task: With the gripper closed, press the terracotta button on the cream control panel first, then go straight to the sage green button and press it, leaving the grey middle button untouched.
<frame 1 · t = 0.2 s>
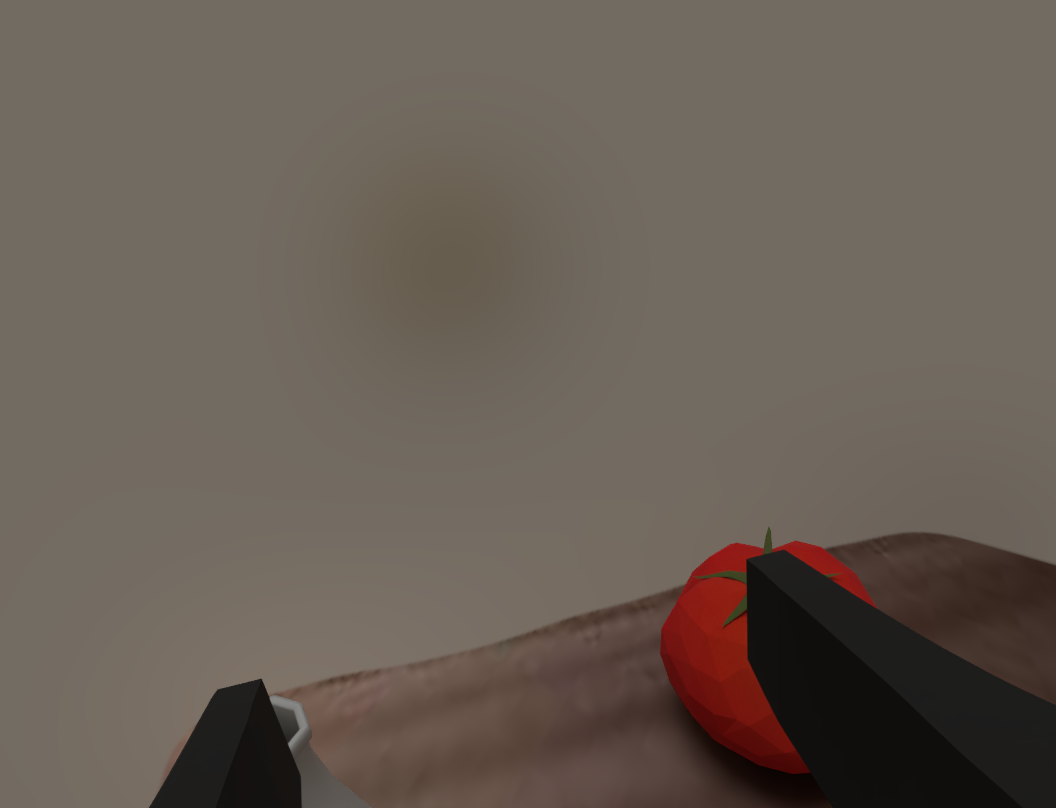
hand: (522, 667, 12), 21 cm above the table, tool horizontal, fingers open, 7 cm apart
tomato: (781, 722, 35), on the table
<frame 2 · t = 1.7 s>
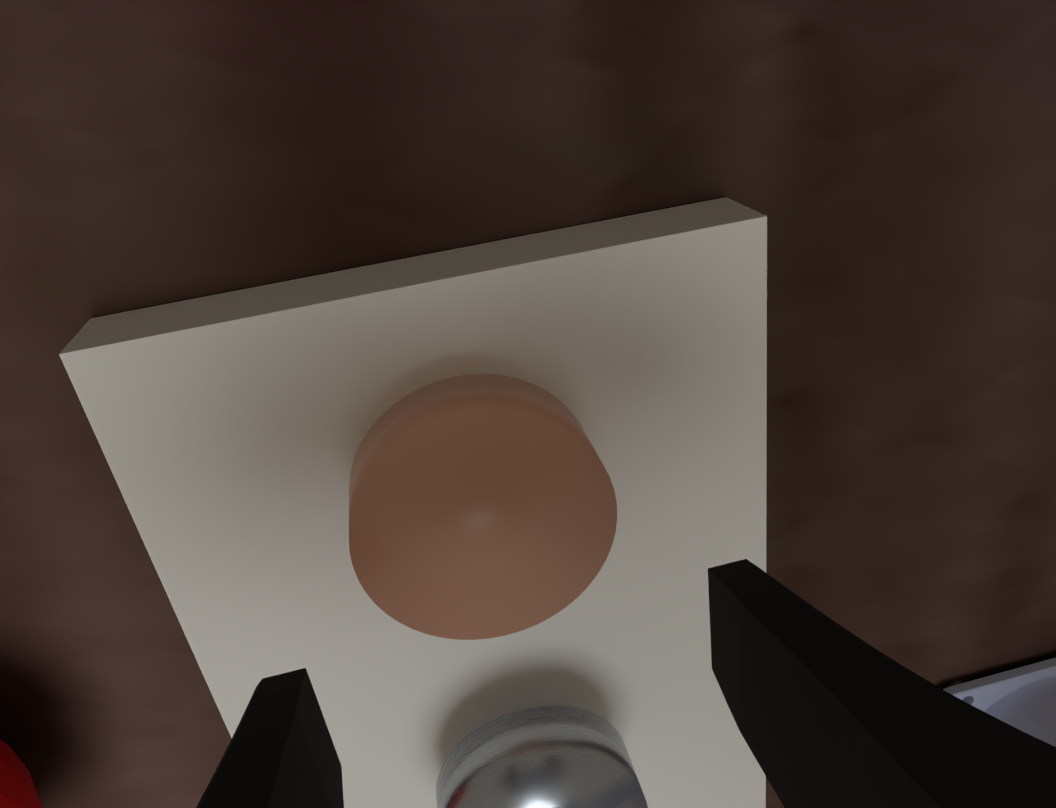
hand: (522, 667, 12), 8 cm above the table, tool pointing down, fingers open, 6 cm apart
terracotta button: (480, 509, 15), point 4 cm above the table, slide at 0.0 cm
grey button: (540, 807, 19), point 4 cm above the table, slide at 0.0 cm
control panel: (510, 683, 23), on the table
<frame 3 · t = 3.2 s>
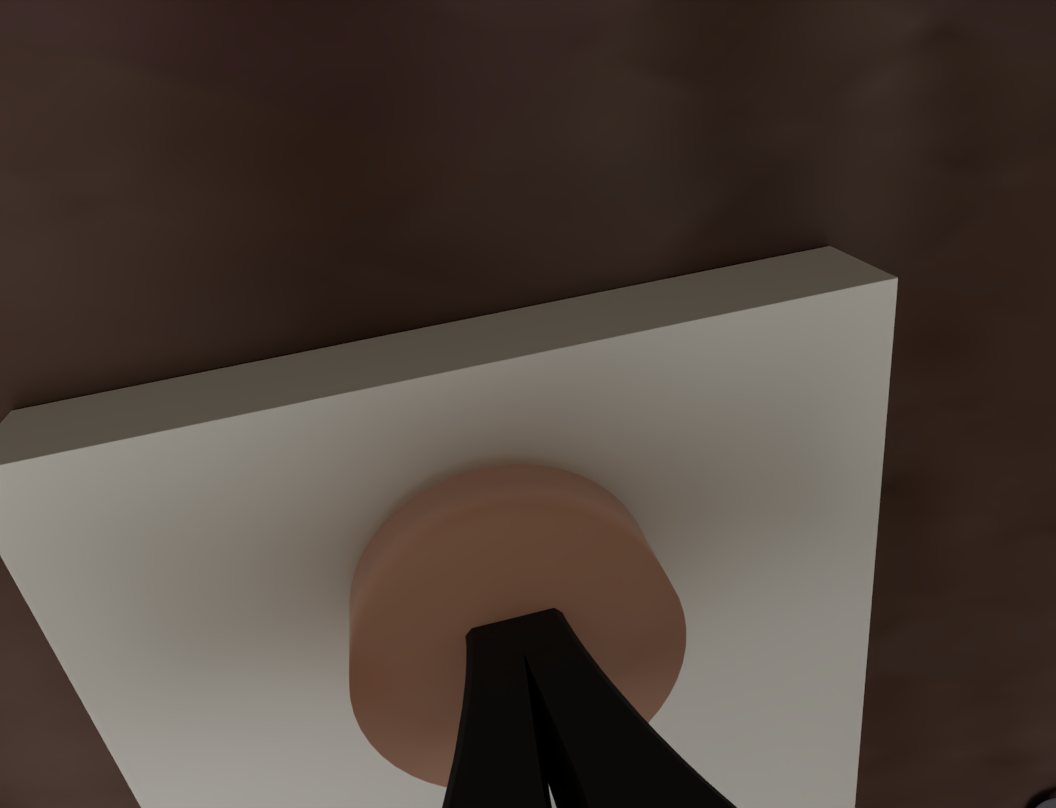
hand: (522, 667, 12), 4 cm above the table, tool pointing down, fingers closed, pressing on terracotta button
terracotta button: (513, 631, 12), point 3 cm above the table, slide at 0.9 cm, touching gripper
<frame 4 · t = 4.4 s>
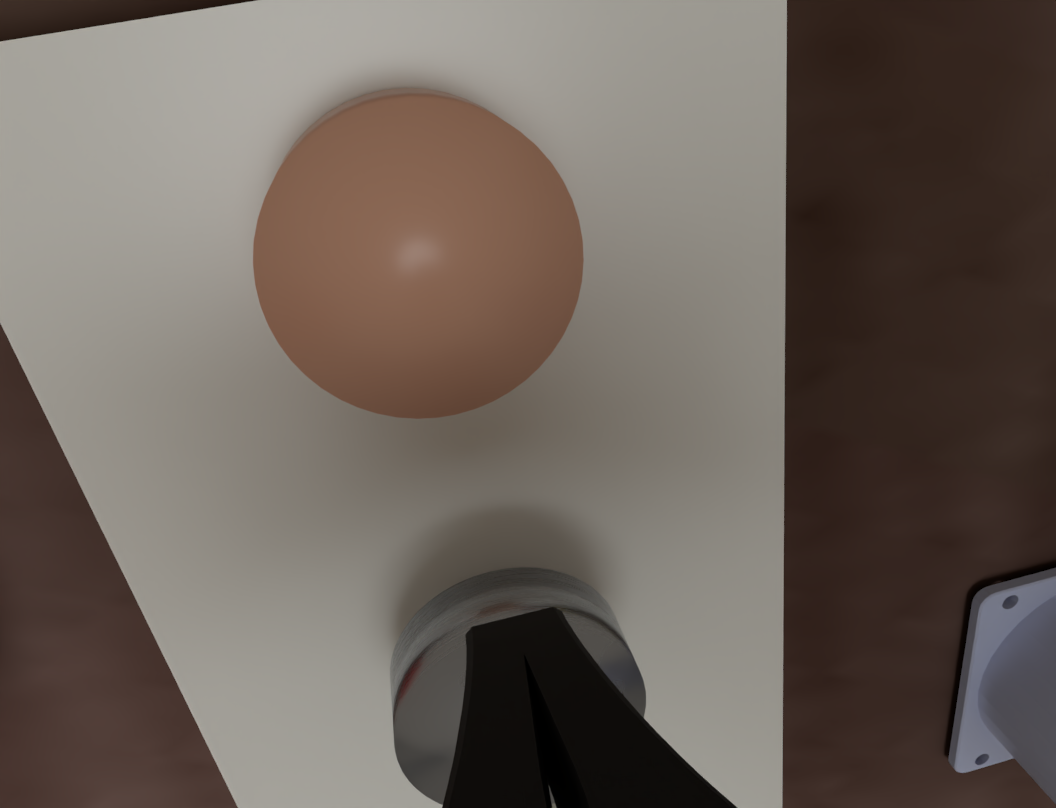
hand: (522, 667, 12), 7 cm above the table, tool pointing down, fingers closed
terracotta button: (420, 257, 13), point 3 cm above the table, slide at 0.9 cm
grey button: (515, 692, 16), point 4 cm above the table, slide at 0.0 cm
control panel: (484, 568, 20), on the table
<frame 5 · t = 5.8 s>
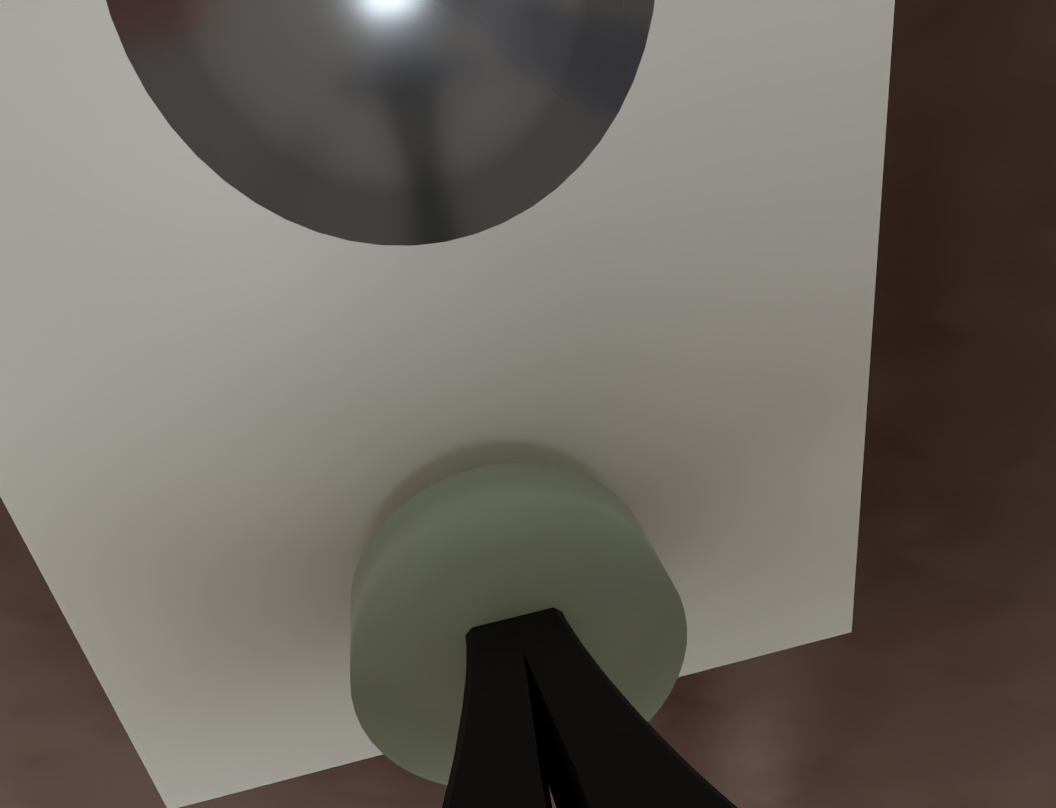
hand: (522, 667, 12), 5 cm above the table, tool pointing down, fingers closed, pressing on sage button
sage button: (514, 629, 12), point 4 cm above the table, slide at 0.3 cm, touching gripper
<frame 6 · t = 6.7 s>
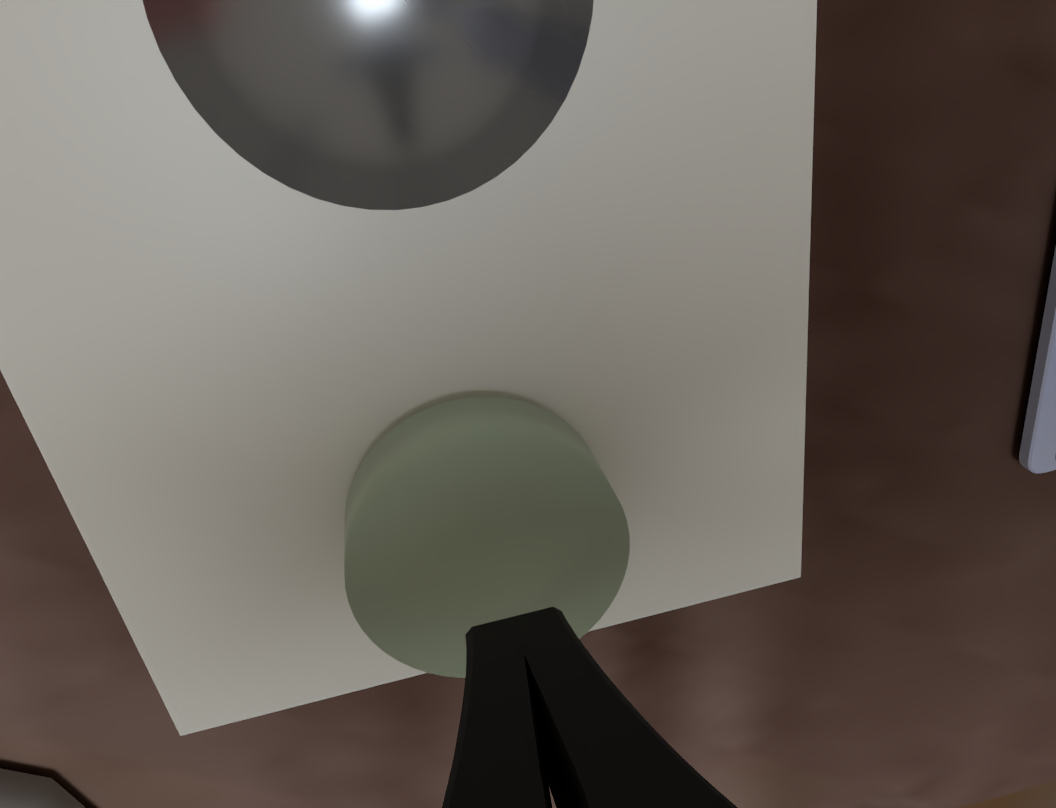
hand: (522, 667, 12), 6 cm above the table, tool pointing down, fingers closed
sage button: (484, 539, 14), point 3 cm above the table, slide at 0.9 cm
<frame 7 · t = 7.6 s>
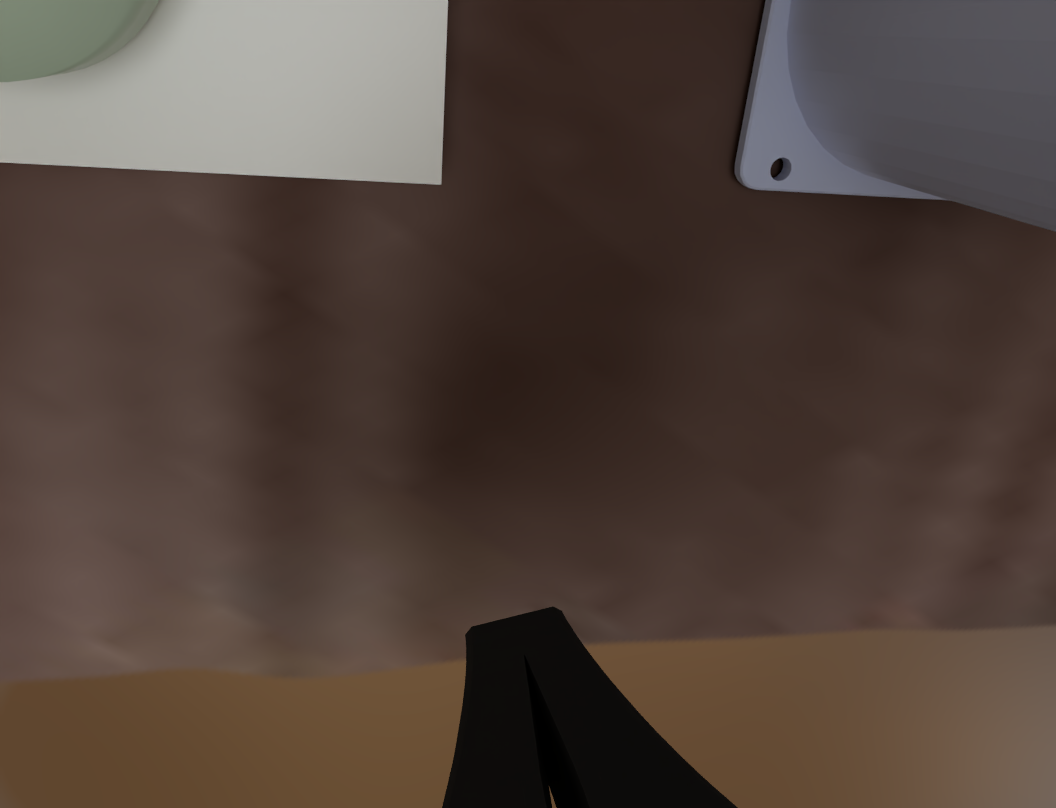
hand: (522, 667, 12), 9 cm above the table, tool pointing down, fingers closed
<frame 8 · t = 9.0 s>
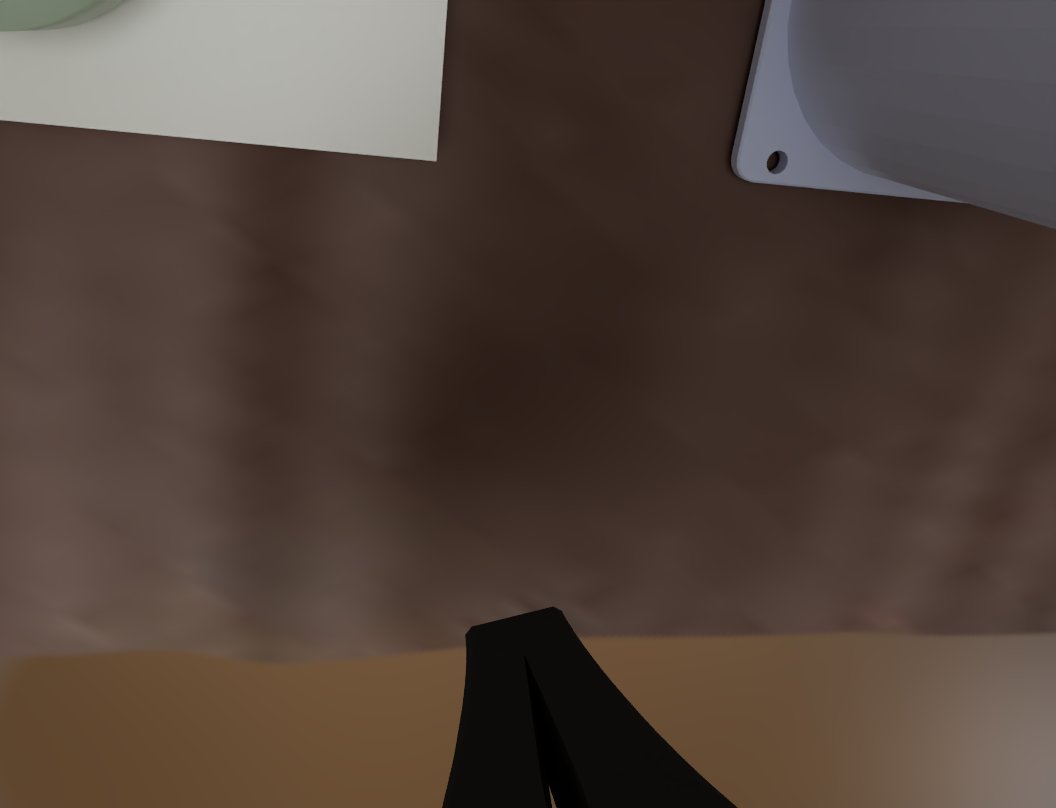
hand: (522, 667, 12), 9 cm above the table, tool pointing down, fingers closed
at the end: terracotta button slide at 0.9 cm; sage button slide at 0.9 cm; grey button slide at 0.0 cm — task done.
